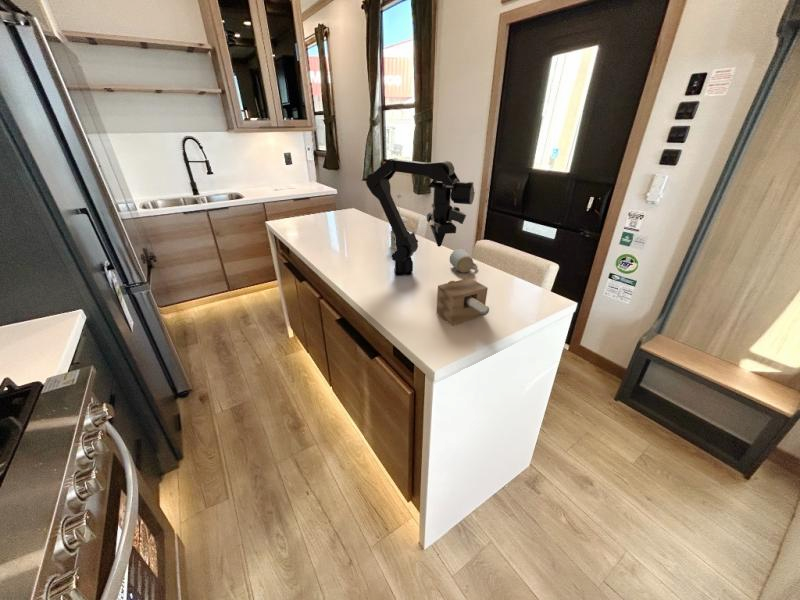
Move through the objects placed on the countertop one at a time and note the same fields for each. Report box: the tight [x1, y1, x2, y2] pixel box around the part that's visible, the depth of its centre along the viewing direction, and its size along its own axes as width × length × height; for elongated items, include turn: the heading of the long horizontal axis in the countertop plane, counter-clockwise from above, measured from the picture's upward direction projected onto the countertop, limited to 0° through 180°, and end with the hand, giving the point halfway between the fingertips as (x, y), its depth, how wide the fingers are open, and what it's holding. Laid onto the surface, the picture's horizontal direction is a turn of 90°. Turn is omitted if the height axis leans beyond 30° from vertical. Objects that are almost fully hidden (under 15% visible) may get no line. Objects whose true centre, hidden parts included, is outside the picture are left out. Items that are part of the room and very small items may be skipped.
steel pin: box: [447, 280, 490, 317], centre depth 93 cm, size 16×5×5 cm, turn 28°
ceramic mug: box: [449, 248, 478, 274], centre depth 128 cm, size 11×8×8 cm
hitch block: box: [435, 277, 489, 326], centre depth 96 cm, size 8×12×10 cm, turn 118°
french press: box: [388, 193, 409, 253], centre depth 148 cm, size 10×12×25 cm
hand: (439, 246), depth 115 cm, fingers closed
